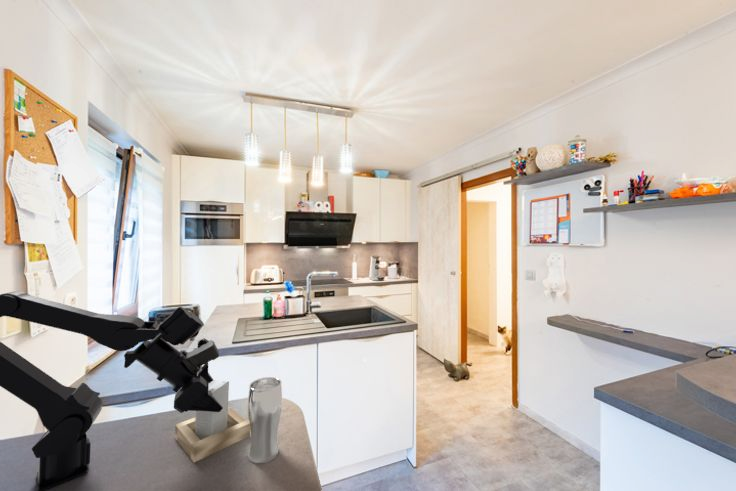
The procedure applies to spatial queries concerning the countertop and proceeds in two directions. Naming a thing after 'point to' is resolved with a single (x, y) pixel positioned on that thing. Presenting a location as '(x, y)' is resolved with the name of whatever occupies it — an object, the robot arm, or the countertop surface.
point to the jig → (215, 442)
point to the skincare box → (213, 421)
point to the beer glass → (264, 418)
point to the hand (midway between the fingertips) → (220, 400)
